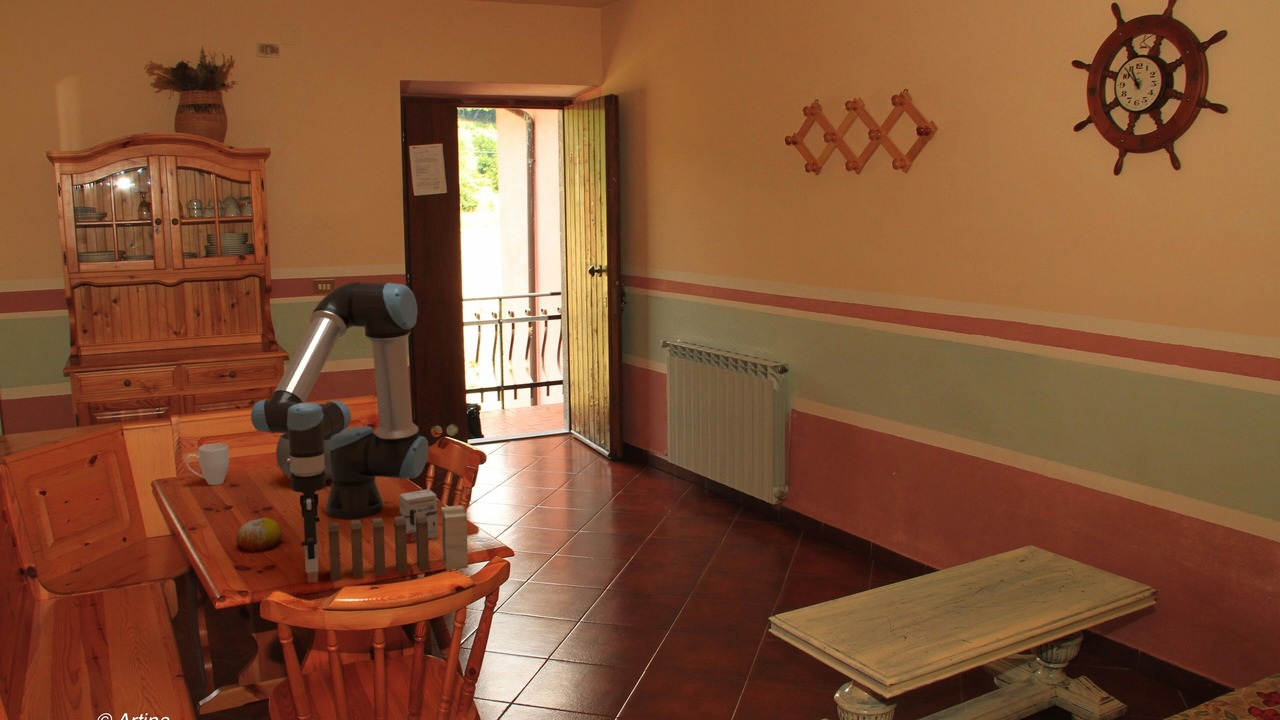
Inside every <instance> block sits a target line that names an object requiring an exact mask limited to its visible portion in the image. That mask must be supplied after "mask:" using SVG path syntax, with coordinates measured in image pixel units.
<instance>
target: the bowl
mask: <svg viewBox="0 0 1280 720" xmlns="http://www.w3.org/2000/svg"><path fill="white" fill-rule="evenodd" d="M330 439H331V437H328V438H326V439H324V452H325V469H324V470H323V471H324V472H325V478H326V481H328V480H330V479H332V475H331V457H330ZM275 449H276V453H275V454H276V455H275V456H276V463H277V465H278V467H279V469H280V471H281V472H282V473H283V474H284V475H285V476H286V477H288V478H289V479H290V480H291V476H290V475H291V474H292V472H291V471H290V464H291V463H288V462H287V459H290V454H289V451H290V450H289V437H288V433H281V434H280V436H279V438H278V441H277V444H276V448H275Z"/></svg>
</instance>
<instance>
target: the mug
mask: <svg viewBox="0 0 1280 720" xmlns="http://www.w3.org/2000/svg"><path fill="white" fill-rule="evenodd" d="M197 453H198V455H197V454H195V453H190V454H188V455H187V456H186V459H185V465H186V468H187V469H188V470H189V471H190V472H192V473H193V474H194V475H196V476H198V477H200V478H202V479H205V480H206V483H207V484H208V486H218V485H222V484H224V481H225V478H226V476H227V472H228V469H229V466H230V465H229V463H230V458H229V457H230V455H229V453H230V452H229V446H228V444H226V443H221V442H219V443H217V442H215V443H208V444H203V445H200V446H198V451H197ZM191 457H194V458H196V459H197V460H198V465H199V468H200V471H201V473H202V474H199V473H198V472H196V471H195V470H193V468H191V467H190V465H189V459H190V458H191Z"/></svg>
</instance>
